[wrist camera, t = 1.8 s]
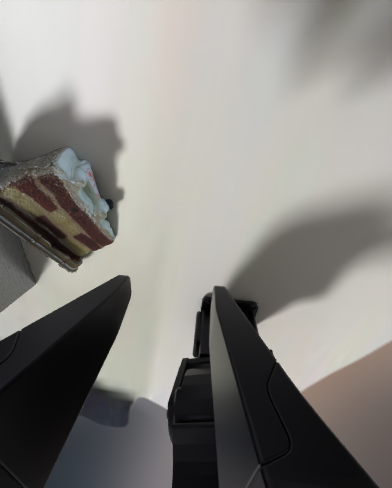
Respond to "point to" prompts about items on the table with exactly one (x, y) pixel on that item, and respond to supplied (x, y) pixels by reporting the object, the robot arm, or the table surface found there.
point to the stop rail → (13, 269)
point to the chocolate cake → (55, 206)
